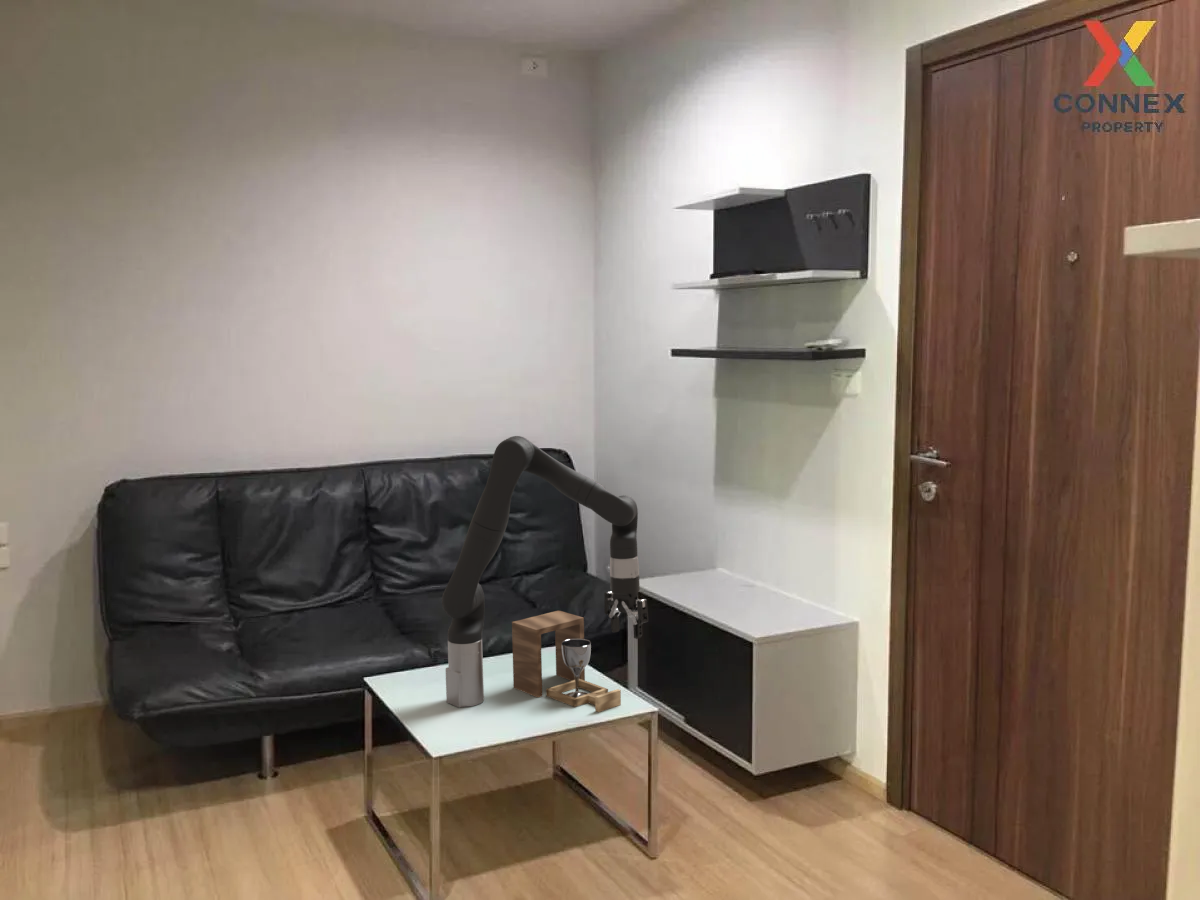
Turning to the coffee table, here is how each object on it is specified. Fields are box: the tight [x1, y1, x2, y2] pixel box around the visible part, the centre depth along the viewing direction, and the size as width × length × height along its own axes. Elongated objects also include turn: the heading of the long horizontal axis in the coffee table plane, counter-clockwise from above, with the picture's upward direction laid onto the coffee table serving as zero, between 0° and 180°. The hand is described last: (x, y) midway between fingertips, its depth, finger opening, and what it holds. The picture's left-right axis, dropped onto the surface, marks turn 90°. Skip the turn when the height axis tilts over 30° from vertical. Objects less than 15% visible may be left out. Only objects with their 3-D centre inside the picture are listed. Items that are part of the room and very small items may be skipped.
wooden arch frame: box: [511, 610, 586, 698], centre depth 288 cm, size 17×11×19 cm, turn 132°
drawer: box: [545, 679, 622, 713], centre depth 277 cm, size 12×19×4 cm, turn 42°
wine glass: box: [562, 638, 592, 698], centre depth 279 cm, size 8×8×15 cm
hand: (626, 634), depth 265 cm, fingers open, 8 cm apart
